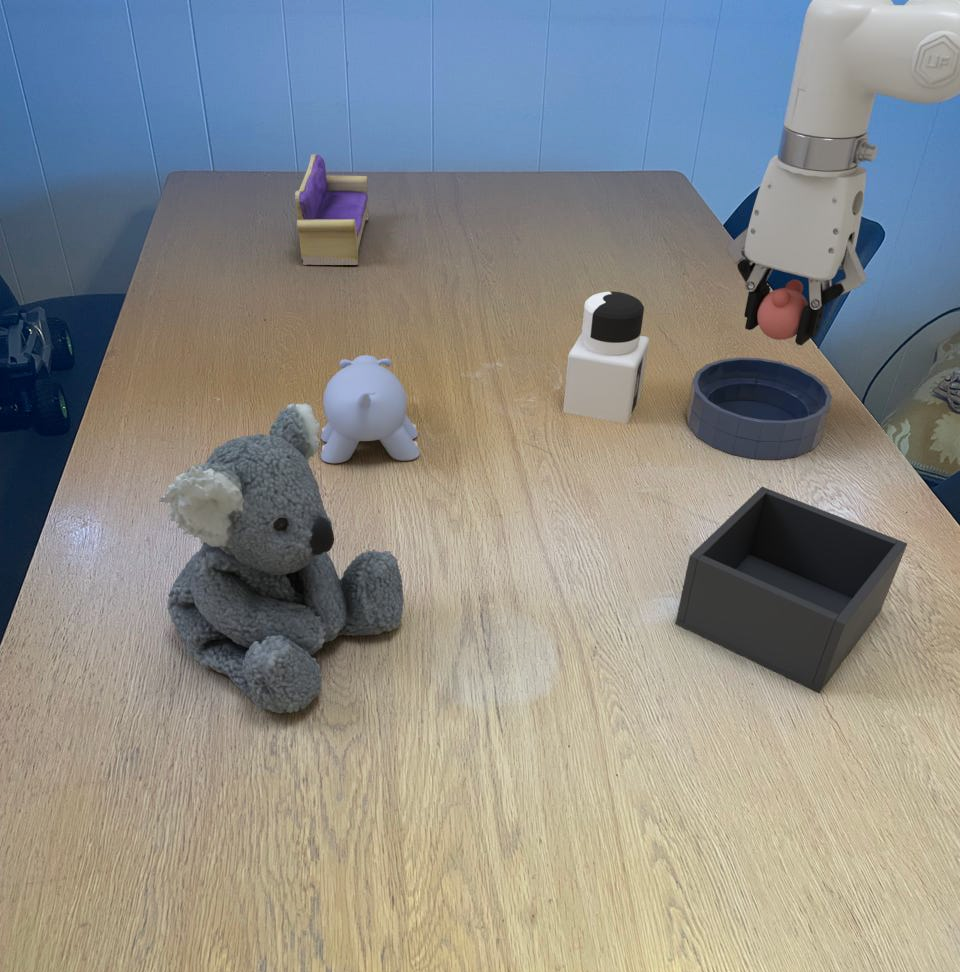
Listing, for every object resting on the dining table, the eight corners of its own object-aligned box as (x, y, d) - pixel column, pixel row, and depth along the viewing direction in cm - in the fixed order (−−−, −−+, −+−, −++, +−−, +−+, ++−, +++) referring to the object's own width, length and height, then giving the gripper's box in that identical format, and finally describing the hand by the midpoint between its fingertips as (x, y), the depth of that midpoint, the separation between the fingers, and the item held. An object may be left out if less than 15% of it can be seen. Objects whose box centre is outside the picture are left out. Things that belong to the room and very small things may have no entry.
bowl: (841, 424, 112) (853, 385, 109) (784, 479, 103) (796, 438, 100) (723, 383, 119) (731, 345, 116) (661, 432, 110) (668, 392, 107)
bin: (880, 610, 87) (907, 543, 82) (819, 693, 79) (845, 624, 74) (744, 552, 93) (761, 485, 88) (674, 623, 85) (689, 555, 80)
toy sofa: (358, 268, 143) (354, 196, 136) (300, 267, 143) (292, 195, 136) (371, 219, 159) (367, 152, 152) (318, 218, 158) (312, 150, 152)
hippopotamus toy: (414, 403, 114) (412, 325, 107) (422, 472, 103) (420, 390, 96) (322, 406, 113) (314, 328, 106) (320, 476, 102) (311, 394, 95)
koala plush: (290, 737, 74) (257, 531, 61) (126, 650, 81) (64, 448, 68) (418, 615, 85) (413, 418, 72) (264, 547, 92) (233, 356, 79)
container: (641, 397, 116) (656, 291, 107) (627, 428, 110) (642, 318, 102) (579, 385, 118) (589, 280, 109) (562, 415, 112) (571, 307, 103)
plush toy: (810, 335, 104) (823, 283, 100) (789, 352, 101) (802, 299, 97) (766, 322, 106) (777, 271, 102) (744, 339, 103) (754, 286, 99)
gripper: (923, 157, 89) (869, 343, 102) (755, 125, 97) (723, 301, 109) (894, 176, 85) (840, 368, 97) (720, 141, 93) (690, 323, 105)
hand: (778, 331), depth 103 cm, fingers closed on plush toy, 5 cm apart
